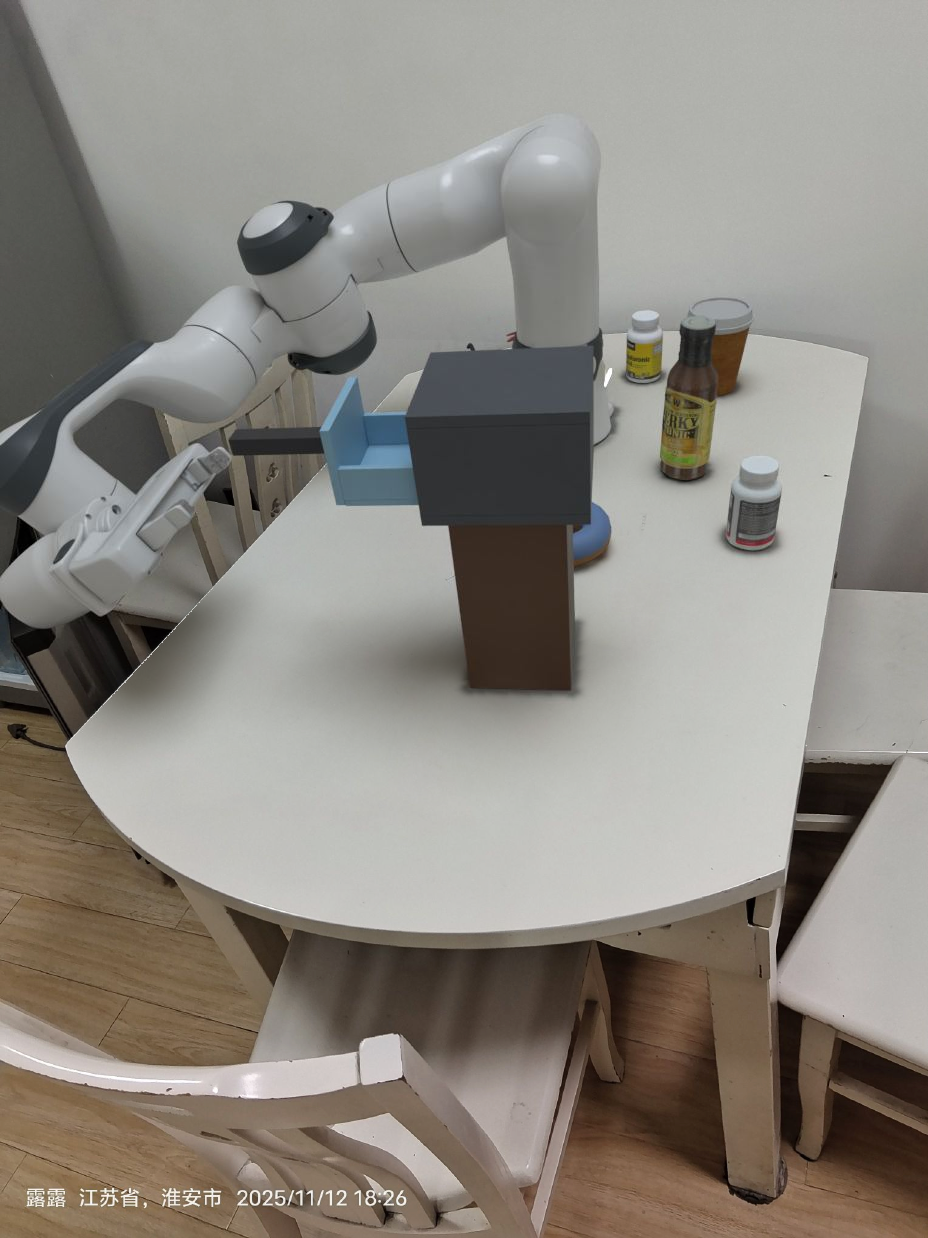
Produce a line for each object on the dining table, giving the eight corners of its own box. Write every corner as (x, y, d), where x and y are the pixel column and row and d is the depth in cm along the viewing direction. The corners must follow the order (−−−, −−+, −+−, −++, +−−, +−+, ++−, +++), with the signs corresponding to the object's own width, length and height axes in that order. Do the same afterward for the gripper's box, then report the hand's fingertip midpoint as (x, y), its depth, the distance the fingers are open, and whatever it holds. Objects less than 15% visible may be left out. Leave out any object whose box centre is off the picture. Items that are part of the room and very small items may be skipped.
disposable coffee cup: (668, 383, 131) (672, 305, 124) (720, 367, 134) (727, 290, 126) (705, 406, 124) (712, 326, 117) (759, 389, 127) (770, 309, 119)
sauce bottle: (649, 472, 112) (656, 323, 99) (678, 453, 115) (688, 306, 102) (690, 488, 108) (703, 335, 95) (719, 468, 111) (735, 317, 98)
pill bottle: (784, 539, 98) (796, 464, 92) (751, 557, 96) (761, 482, 90) (747, 520, 102) (757, 446, 96) (715, 537, 100) (723, 463, 94)
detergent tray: (226, 507, 74) (201, 434, 70) (261, 450, 82) (242, 380, 77) (485, 504, 70) (477, 426, 66) (498, 444, 78) (492, 371, 73)
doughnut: (553, 583, 96) (551, 550, 93) (512, 540, 103) (509, 508, 100) (628, 554, 99) (629, 521, 96) (582, 515, 106) (582, 483, 103)
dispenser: (448, 694, 84) (404, 416, 65) (464, 616, 93) (430, 352, 74) (591, 698, 82) (590, 411, 63) (594, 617, 91) (593, 345, 72)
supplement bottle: (618, 379, 134) (619, 317, 128) (638, 366, 137) (640, 305, 131) (648, 387, 131) (650, 324, 125) (667, 373, 134) (671, 311, 128)
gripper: (179, 508, 95) (266, 451, 88) (93, 629, 79) (190, 570, 73) (136, 465, 92) (222, 402, 85) (38, 582, 76) (134, 516, 70)
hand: (207, 481), depth 79 cm, fingers open, 8 cm apart
